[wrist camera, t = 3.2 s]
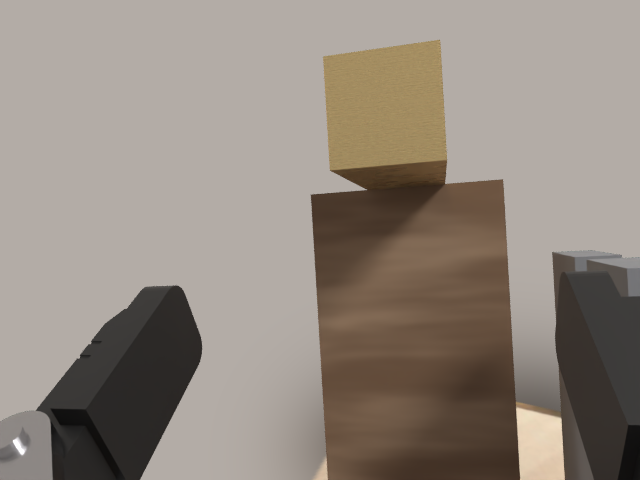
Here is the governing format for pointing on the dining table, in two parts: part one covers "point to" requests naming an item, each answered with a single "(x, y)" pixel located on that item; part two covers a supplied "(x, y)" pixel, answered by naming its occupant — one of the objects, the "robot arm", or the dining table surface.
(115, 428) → the robot arm
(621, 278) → the post
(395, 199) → the stand
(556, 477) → the dining table surface
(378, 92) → the gold studded block
